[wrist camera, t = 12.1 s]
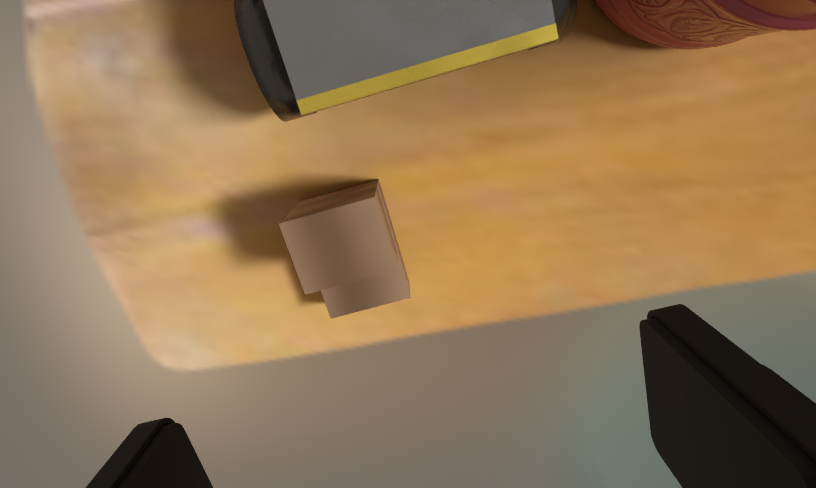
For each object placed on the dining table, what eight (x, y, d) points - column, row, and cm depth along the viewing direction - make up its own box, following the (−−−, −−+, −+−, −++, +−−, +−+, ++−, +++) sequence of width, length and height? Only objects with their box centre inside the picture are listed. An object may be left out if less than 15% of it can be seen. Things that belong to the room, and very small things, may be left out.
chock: (378, 178, 28) (374, 196, 23) (409, 281, 30) (412, 320, 25) (300, 200, 28) (278, 223, 23) (335, 301, 30) (323, 343, 25)
